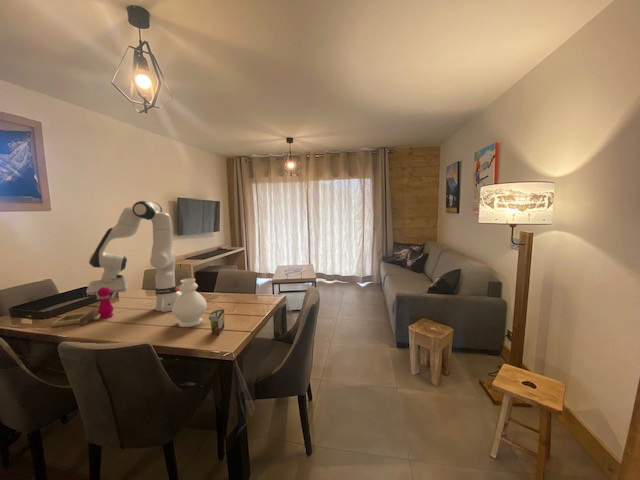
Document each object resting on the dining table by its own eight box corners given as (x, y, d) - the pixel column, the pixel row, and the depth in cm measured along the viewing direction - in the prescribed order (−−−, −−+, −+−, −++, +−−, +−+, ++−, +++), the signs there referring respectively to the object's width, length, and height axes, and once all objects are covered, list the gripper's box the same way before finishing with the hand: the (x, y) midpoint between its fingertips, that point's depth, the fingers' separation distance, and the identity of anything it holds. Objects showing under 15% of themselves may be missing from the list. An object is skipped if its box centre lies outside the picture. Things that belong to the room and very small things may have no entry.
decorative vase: (202, 327, 142) (200, 283, 140) (167, 330, 139) (164, 285, 137) (211, 315, 160) (208, 275, 157) (180, 317, 157) (177, 277, 154)
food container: (213, 326, 143) (212, 309, 142) (225, 326, 144) (224, 308, 143) (206, 337, 131) (204, 318, 130) (218, 336, 131) (217, 317, 130)
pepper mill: (105, 319, 155) (102, 287, 153) (95, 319, 157) (92, 286, 155) (117, 315, 162) (114, 283, 160) (107, 314, 164) (104, 283, 162)
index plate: (91, 315, 162) (91, 311, 162) (80, 323, 150) (80, 319, 150) (65, 318, 158) (64, 315, 157) (51, 327, 145) (51, 323, 145)
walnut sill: (101, 312, 167) (100, 306, 166) (85, 325, 148) (84, 318, 147) (96, 313, 166) (96, 307, 165) (80, 325, 147) (79, 319, 147)
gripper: (87, 278, 161) (81, 298, 153) (127, 275, 168) (123, 294, 160) (92, 283, 165) (86, 303, 157) (130, 280, 172) (126, 299, 164)
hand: (105, 298), depth 159 cm, fingers closed on pepper mill, 5 cm apart
